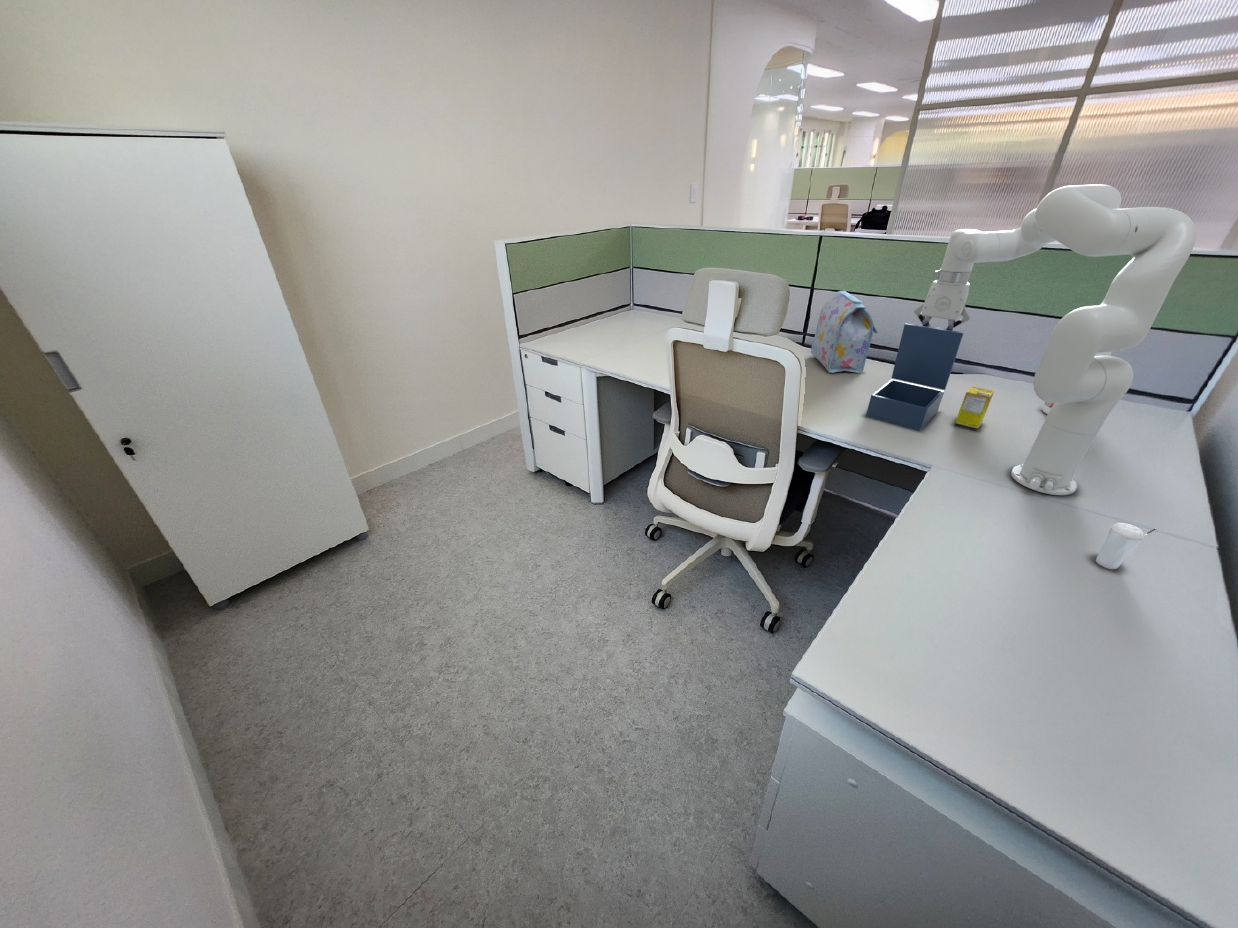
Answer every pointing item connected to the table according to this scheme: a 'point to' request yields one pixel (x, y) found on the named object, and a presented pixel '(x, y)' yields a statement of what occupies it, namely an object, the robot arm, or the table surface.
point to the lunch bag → (843, 334)
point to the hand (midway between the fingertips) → (933, 338)
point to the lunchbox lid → (926, 355)
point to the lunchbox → (904, 404)
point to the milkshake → (1119, 544)
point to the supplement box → (974, 408)
